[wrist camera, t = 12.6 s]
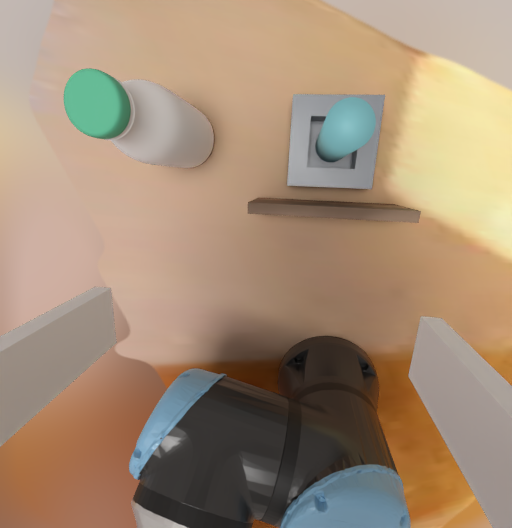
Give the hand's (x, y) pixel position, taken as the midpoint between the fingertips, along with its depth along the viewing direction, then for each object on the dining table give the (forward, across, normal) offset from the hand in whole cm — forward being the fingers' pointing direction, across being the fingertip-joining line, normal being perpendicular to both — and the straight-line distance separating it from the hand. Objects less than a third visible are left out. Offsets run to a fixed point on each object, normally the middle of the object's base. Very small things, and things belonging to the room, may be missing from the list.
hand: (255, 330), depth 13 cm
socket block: (+31, -5, -10) cm, 33 cm away
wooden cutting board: (+31, -5, -3) cm, 31 cm away
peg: (+30, -5, -10) cm, 32 cm away
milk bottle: (+31, +14, -11) cm, 36 cm away
